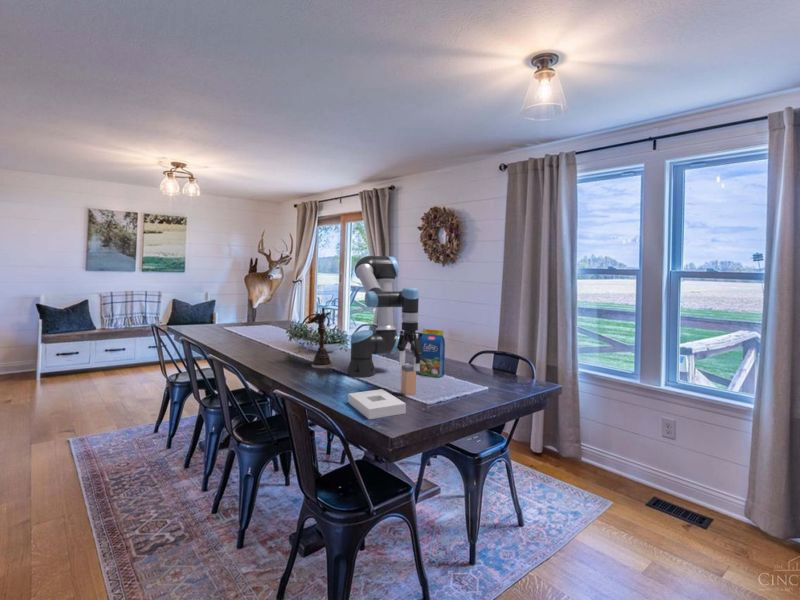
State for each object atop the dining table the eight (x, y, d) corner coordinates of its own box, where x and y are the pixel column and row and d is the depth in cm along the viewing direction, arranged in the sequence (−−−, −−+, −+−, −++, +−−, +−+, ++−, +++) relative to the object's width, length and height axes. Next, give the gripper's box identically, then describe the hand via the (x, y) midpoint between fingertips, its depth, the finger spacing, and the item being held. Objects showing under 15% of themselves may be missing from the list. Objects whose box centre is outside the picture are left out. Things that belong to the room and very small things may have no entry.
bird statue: (299, 365, 246) (299, 305, 243) (315, 361, 256) (315, 304, 254) (319, 369, 236) (319, 307, 234) (335, 365, 247) (336, 306, 244)
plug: (401, 392, 196) (401, 365, 195) (410, 391, 198) (410, 364, 197) (406, 395, 192) (406, 367, 191) (415, 394, 194) (416, 366, 193)
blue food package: (439, 378, 224) (440, 331, 222) (419, 374, 230) (420, 329, 228) (444, 375, 229) (445, 330, 227) (424, 372, 235) (425, 328, 233)
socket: (348, 402, 180) (348, 393, 180) (382, 397, 188) (382, 389, 187) (369, 419, 161) (369, 409, 160) (405, 413, 168) (405, 403, 168)
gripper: (390, 319, 202) (389, 362, 203) (416, 325, 180) (415, 374, 181) (404, 318, 205) (403, 361, 207) (431, 324, 183) (430, 372, 185)
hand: (409, 367), depth 194 cm, fingers open, 13 cm apart
